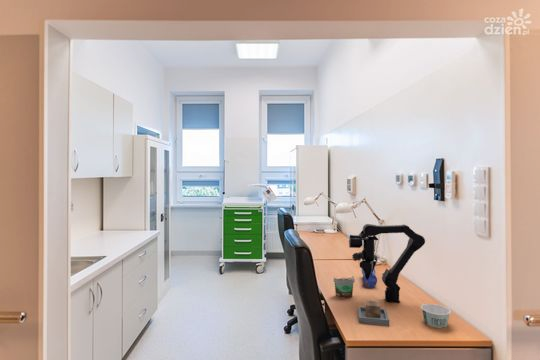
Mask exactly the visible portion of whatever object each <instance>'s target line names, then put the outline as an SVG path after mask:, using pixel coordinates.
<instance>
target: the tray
mask: <svg viewBox="0 0 540 360" xmlns="http://www.w3.org/2000/svg"><path fill="white" fill-rule="evenodd" d="M357 316H358V317H357V318H358V323H359V324H369V325H378V326H390V318H389V314H388V311H387V309H386V308H382V307H380V318H372V317H366V306H359V305H358V306H357Z"/></svg>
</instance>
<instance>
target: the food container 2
mask: <svg viewBox="0 0 540 360" xmlns="http://www.w3.org/2000/svg"><path fill="white" fill-rule="evenodd" d="M420 308H421V311H422V317H423V321H424V324H426V325H428V326H429V327H432V328H436V327H439V328H438V329H443V328H442V327H445V328H447V327H448V323H449V317H450V314H451V312H452V311H451V309H450V308H448V307H446V306H444V305H440V304H435V303H424V304H422V305H420ZM446 326H447V327H446Z"/></svg>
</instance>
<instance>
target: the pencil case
mask: <svg viewBox="0 0 540 360" xmlns="http://www.w3.org/2000/svg"><path fill="white" fill-rule="evenodd" d="M361 274H362V277H361V281H362V284H363V286H364V287H366V288H374V287H376V285H377V283H378V278H377V275H376V269H375V268H374V270H373V273H372V275H370V277H369V279H368V280H367V279H366V277H365V273H364V270H363V269H362V268H361Z"/></svg>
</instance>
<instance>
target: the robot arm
mask: <svg viewBox="0 0 540 360" xmlns="http://www.w3.org/2000/svg"><path fill="white" fill-rule="evenodd" d="M402 233H403V234H404V235H405V236H406V237H408V240H407V244H406V248H405V249H404V250H403V251H402V253H401V254H400V256H399V257H398V258H397V260H396V262H395V263H394V265H392V267H391V268H389V269H387V268H386V269H385V271H384V272H383V273H382V274H381V275H382V276H381V281H382V282H383V284H384V285H385V286H386V287H385V290H384V299H385V301H386V302H387V303H397V304H399V303H400V302H401V301H400V290H401V287H400V286H399V285H398V283H397V282H398V280H399V277H400V276H399V275H400V274H401V271H402V270H403V269H404V267H405V266H406V265H407V264H408V262H409V261H410V259H411V258H412V256H413V255H414V254H415V252H417V251H419V250H420V249H421V248H422V247H423V246H424V245H425V244H426V239H425V237H424V236H423V235H421V234H419V233H416V232H415V231H414V230H413V229H412V228H411V227H410V226H408V225H406V224H394V225H376V224H370V223H365V224H364V225H363V226H362V230H361V231H360V233H359V234H358V235H355V234H350V235H349V237H348V247H349V248H351V249H355V248H356V249H360V248H361V247H363V249H362V250H361V251H359V252H355V253H353V254H352V255H351V257H352V259H353V261H354V262H357V261H358V260H361V261H360V262H359V268H361V270H362V269H363V270H364V273H365V277H366V279H367V280H368V279H369V277H370V275H372V273H373V270H374V269H375V268H376V265H377V262H378V259H379V258H378V255H375V253H376V249H375V241H379V238H378V237H377V236H379V235H382V234H402Z"/></svg>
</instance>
